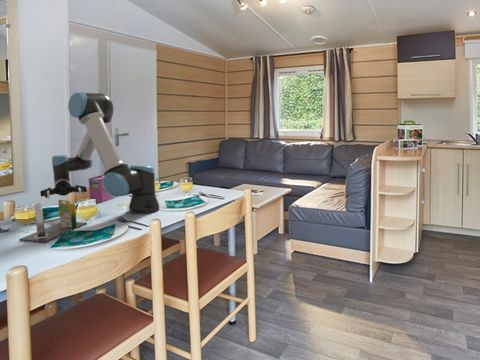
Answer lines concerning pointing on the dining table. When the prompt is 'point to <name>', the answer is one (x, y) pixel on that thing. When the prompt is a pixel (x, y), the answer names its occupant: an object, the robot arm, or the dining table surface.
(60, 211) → the crayon box
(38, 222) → the post
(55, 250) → the dining table surface
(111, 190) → the robot arm
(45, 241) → the plate
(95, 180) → the gum box
